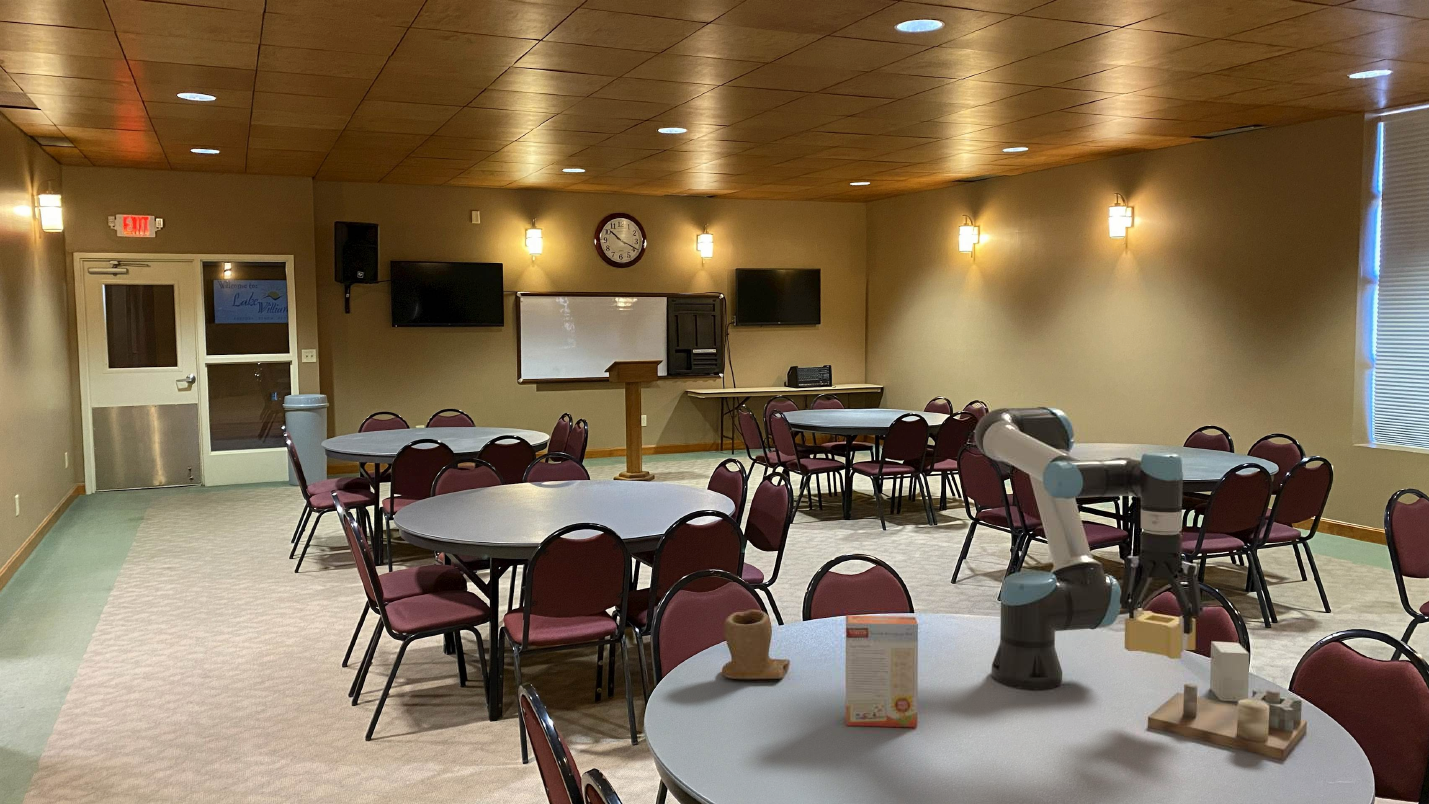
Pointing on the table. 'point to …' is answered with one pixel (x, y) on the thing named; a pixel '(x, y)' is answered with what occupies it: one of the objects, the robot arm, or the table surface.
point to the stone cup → (751, 647)
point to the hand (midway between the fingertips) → (1160, 645)
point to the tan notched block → (1156, 635)
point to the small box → (1229, 671)
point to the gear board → (1235, 721)
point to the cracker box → (881, 671)
